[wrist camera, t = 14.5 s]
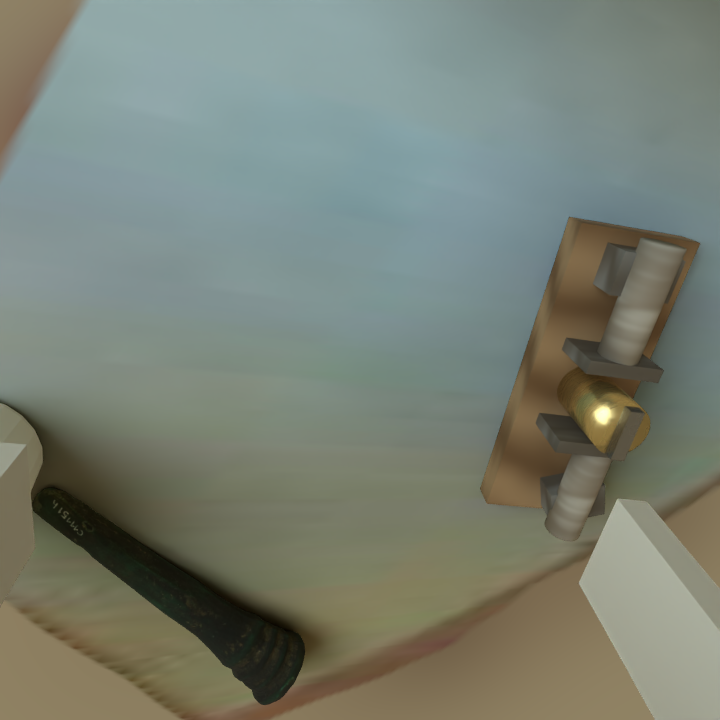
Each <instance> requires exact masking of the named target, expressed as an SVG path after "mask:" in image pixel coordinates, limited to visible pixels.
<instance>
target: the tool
mask: <svg viewBox="0 0 720 720" xmlns="http://www.w3.org/2000/svg"><path fill="white" fill-rule="evenodd" d="M32 507H33V511H34V512H35V513H36V514H38V515H39V516H40V517H41V518H42V519H44V520H45V521H46V522H48V523H49V524H50V525H51V526H53V527H54V528H55V529H57V530H58V531H59V532H61V533H62V534H63V535H65V536H66V537H67V538H69V539H70V540H71V541H73V542H74V543H76V544H77V545H79V546H81V547H82V548H84V549H85V550H86V551H87V552H88V553H89V554H90V555H91V556H92V557H93V558H94V559H95V560H97V561H98V562H99V563H101V564H102V565H103V566H104V567H106V568H107V569H108V570H110V571H111V572H112V573H113V574H115V575H116V576H117V577H119V578H120V579H121V580H122V581H124V582H125V583H126V584H127V585H129V586H130V587H131V588H133V589H134V590H135V591H136V592H138V593H139V594H140V595H142V596H143V597H144V598H145V599H147V600H148V601H149V602H150V603H152V604H153V605H154V606H155V607H157V608H158V609H159V610H161V611H162V612H163V613H164V614H166V615H167V616H169V617H170V618H172V619H173V620H175V621H176V622H177V623H179V624H180V625H182V626H183V627H185V628H186V629H187V630H189V631H190V632H191V633H193V634H194V635H195V636H197V637H198V638H199V639H200V640H201V641H202V642H203V643H204V644H205V645H206V646H207V647H208V648H209V649H210V650H211V651H212V652H213V653H214V654H215V656H216V657H217V658H218V659H219V660H220V661H221V663H222V664H223V665H224V666H226V667H228V668H231V669H232V672H233V675H234V677H235V678H237V679H238V680H240V681H242V682H243V683H244V684H245V685H246V686H247V687H248V688H250V689H251V690H252V692H253V696H254V698H255V699H256V700H257V701H258V702H259V703H260V704H262V705H268V704H271V703H273V702H276V701H277V700H279V699H280V698H282V697H283V696H284V695H285V694H286V692H287V691H288V690H289V689H290V687H291V686H292V685H293V684H294V682H295V680H296V678H297V676H298V674H299V672H300V670H301V667H302V664H303V660H304V655H305V646H304V642H303V640H302V638H301V636H300V635H299V634H298V633H296V632H294V631H285V630H284V629H282V628H280V627H277V626H274V625H272V624H270V623H269V622H266V621H263V620H262V619H261V618H260V617H259V616H258V615H256V614H253V613H249V612H246V611H244V610H242V609H240V608H238V607H236V606H234V605H233V604H231V603H229V602H228V601H226V600H224V599H223V598H221V597H220V596H218V595H217V594H215V593H214V592H212V591H211V590H210V589H208V588H207V587H205V586H204V585H203V584H201V583H200V582H198V581H197V580H195V579H194V578H192V577H191V576H189V575H188V574H186V573H184V572H183V571H181V570H180V569H178V568H177V567H175V566H173V565H172V564H170V563H169V562H167V561H166V560H164V559H163V558H161V557H160V556H158V555H157V554H155V553H154V552H152V551H151V550H149V549H148V548H147V547H145V546H144V545H142V544H141V543H140V542H138V541H137V540H135V539H134V538H133V537H131V536H130V535H128V534H127V533H126V532H124V531H123V530H121V529H120V528H119V527H117V526H116V525H114V524H113V523H111V522H110V521H108V520H107V519H106V518H104V517H102V516H101V515H99V514H98V513H96V512H95V511H94V510H92V509H91V508H90V507H88V506H87V505H85V504H84V503H82V502H81V501H79V500H77V499H74V498H73V497H72V496H71V495H69V494H67V493H66V492H64V491H62V490H57V489H55V488H47V489H45V490H43V491H41V492H40V493H38V494H37V496H36V498H35V499H34V501H33V502H32Z"/></svg>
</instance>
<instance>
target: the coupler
mask: <svg viewBox="0 0 720 720" xmlns="http://www.w3.org/2000/svg"><path fill="white" fill-rule="evenodd" d="M557 398H558V400H559V402H560V404H561V405H562V406H563V408H564V409H565V410H566V411H567V412H568V414H569V415H570V416H571V417H572V418H573V420H574V421H575V422H576V423H577V425H578V426H579V427H580V428H581V429H582V431H583V432H584V433H585V434H586V435H587V437H588V438H589V439H590V440H591V442H592V443H593V444H594V445H595V446H596V448H597V449H598V450H599V451H601V452H603V453H605V454H606V455H607V456H608V457H609V458H610V460H618V461H624V460H625V458H626V455H627V453H628V452H629V451H631V450H633V449H635V448H636V447H637V446H639V445H640V444H641V443H642V442H643V441H644V439H645V438H646V436H647V434H648V432H649V429H650V418H649V416H648V414H647V412H646V411H645V410H644V409H643V408H641V407H640V406H639V405H638V404H637V403H636V402H635V401H634V400H633V399H632V398H631V397H630V396H629V395H628V394H626V393H625V392H624V391H623V390H622V389H621V388H620V387H619V386H618V385H617V384H616V383H615V382H614V381H613V380H611V379H610V378H609V377H607V376H599V375H592V374H586V373H585V372H584V371H583V370H582V369H581V368H580V367H577V368H575V369H573V370H571V371H570V372H568V373H567V374H566V375H565V376H564V377H563V378H562V380H561V381H560V383H559V385H558V389H557Z"/></svg>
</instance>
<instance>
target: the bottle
mask: <svg viewBox="0 0 720 720" xmlns="http://www.w3.org/2000/svg"><path fill="white" fill-rule="evenodd" d="M0 442H3V443H14V444H25V445H27V455H28V467H29V479H30V491H31V490H32V488H33V485H34V483H35V481H36V478H37V476H38V473H39V471H40V468H41V466H42V463H43V452H42V445H41V443H40V441H39V438H38V436H37V434H36V432H35V430H34V428H33V427H32V426H31V425H30V424H29V423H28V421H27V420H26V419H25V418H24V417H23V416H22V415H21V414H19V413H18V412H16V411H15V410H13V409H12V408H10V407H9V406H7V405H5V404H2V403H0Z"/></svg>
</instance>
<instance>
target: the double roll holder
mask: <svg viewBox="0 0 720 720" xmlns="http://www.w3.org/2000/svg"><path fill="white" fill-rule="evenodd" d="M699 245H700V243H698V242H696V241H693V240H691V239H688V238H685V237H682V236H677V235H671V234H665V233H659V232H654V231H648V230H642V229H636V228H631V227H625V226H619V225H613V224H607V223H602V222H596V221H590V220H584V219H579V218H573V217H569V219H568V222H567V226H566V229H565V232H564V235H563V238H562V241H561V244H560V247H559V250H558V253H557V256H556V259H555V262H554V265H553V268H552V271H551V274H550V277H549V280H548V283H547V286H546V290H545V293H544V296H543V299H542V302H541V305H540V308H539V311H538V314H537V317H536V320H535V323H534V326H533V329H532V332H531V335H530V338H529V341H528V344H527V347H526V351H525V354H524V357H523V360H522V363H521V366H520V369H519V372H518V375H517V378H516V381H515V384H514V387H513V390H512V393H511V396H510V399H509V402H508V405H507V408H506V411H505V415H504V418H503V421H502V424H501V427H500V430H499V433H498V436H497V439H496V442H495V445H494V448H493V451H492V454H491V457H490V460H489V463H488V466H487V469H486V472H485V475H484V479H483V482H482V485H481V488H480V489H481V492H482V494H483V496H484V498H485V501H486V503H487V504H498V505H509V506H521V507H533V508H543V509H544V511H545V513H546V515H547V518H546V520H545V527H546V529H547V530H548V531H549V532H550V533H551V534H552V535H553V536H555V537H557V538H559V539H561V540H564V541H575V540H577V539H578V538H579V536H580V533H581V531H582V529H583V526H584V524H585V522H586V520H587V517H592V516H597V515H602V514H604V510H605V485H604V483H603V481H604V478H605V476H606V474H607V472H608V469H609V467H610V465H611V462H612V460H610V458H609V457H608V456H607V455H606V454H605V453H603V452H601V451H599V450H598V449H597V448H596V446H595V445H594V444H593V443H592V442H591V440H590V439H589V438H588V437H587V435H586V434H585V433H584V432H583V431H582V429H581V428H580V427H579V426H578V425H577V423H576V422H575V421H574V420H573V418H572V417H571V416H570V415H569V414H568V412H567V411H566V410H565V409H564V408H563V406H562V405H561V404H560V402H559V400H558V398H557V389H558V385H559V383H560V381H561V380H562V378H563V377H564V376H565V375H566V374H567V373H568V372H570V371H571V370H573V369H575V368H577V367H580V368H581V369H582V370H583V371H584V372H585V373H586V374H592V375H599V376H607V377H609V378H610V379H611V380H613V381H614V382H615V383H616V384H617V385H618V386H619V387H620V388H621V389H622V390H623V391H624V392H625V393H626V394H628V395H629V396H630V397H631V398H632V399H633V397H634V395H635V393H636V390H637V388H638V386H639V384H640V381H646V382H654V383H658V382H659V380H660V378H661V376H662V373H663V371H664V370H663V369H662V368H660V367H659V366H658V365H656V364H655V363H654V362H652V361H651V360H650V358H651V356H652V353H653V351H654V349H655V347H656V344H657V342H658V340H659V337H660V335H661V333H662V330H663V328H664V326H665V323H666V321H667V319H668V316H669V314H670V312H671V310H672V307H673V305H674V303H675V300H676V298H677V296H678V293H679V291H680V289H681V286H682V284H683V282H684V279H685V277H686V275H687V273H688V270H689V268H690V266H691V263H692V261H693V259H694V256H695V254H696V252H697V249H698V247H699Z"/></svg>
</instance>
